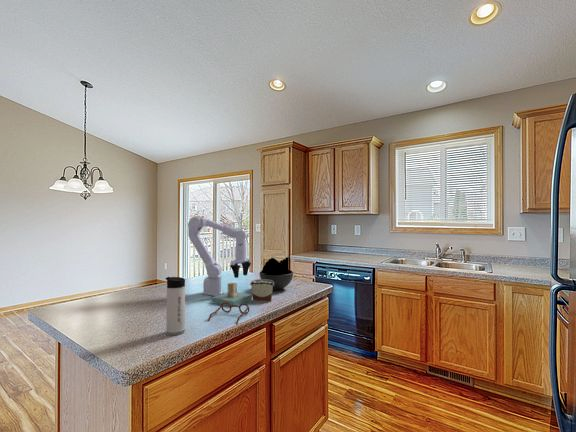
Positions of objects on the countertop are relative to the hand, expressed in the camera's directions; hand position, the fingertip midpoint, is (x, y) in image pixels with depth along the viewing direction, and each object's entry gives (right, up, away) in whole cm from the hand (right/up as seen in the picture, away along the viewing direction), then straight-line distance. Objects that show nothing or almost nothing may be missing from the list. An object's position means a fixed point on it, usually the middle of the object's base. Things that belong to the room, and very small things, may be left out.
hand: (240, 276), depth 159 cm
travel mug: (-15, -9, -55) cm, 58 cm away
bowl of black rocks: (+19, -10, +9) cm, 24 cm away
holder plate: (-2, -9, -15) cm, 18 cm away
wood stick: (-2, -9, -15) cm, 18 cm away
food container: (+14, -10, -13) cm, 21 cm away
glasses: (+2, -10, -39) cm, 40 cm away
